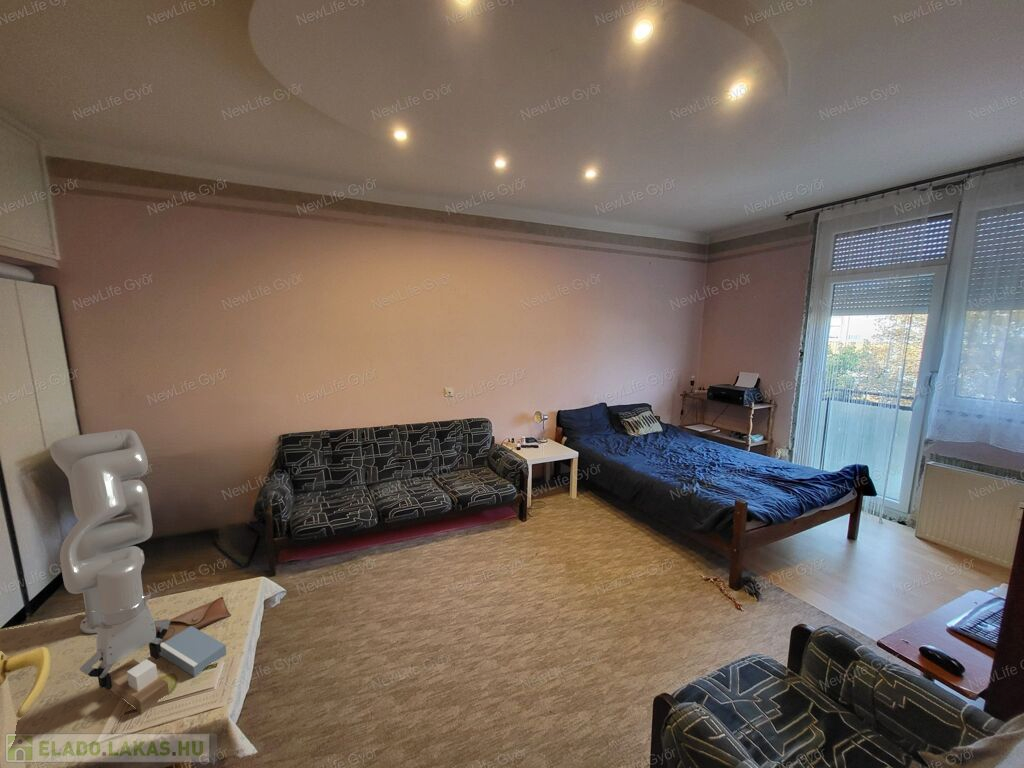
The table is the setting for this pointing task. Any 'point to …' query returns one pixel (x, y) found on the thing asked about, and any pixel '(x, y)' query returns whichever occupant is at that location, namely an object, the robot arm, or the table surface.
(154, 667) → the small white cube
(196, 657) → the block
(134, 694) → the curved wooden block
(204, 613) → the sunglasses case
